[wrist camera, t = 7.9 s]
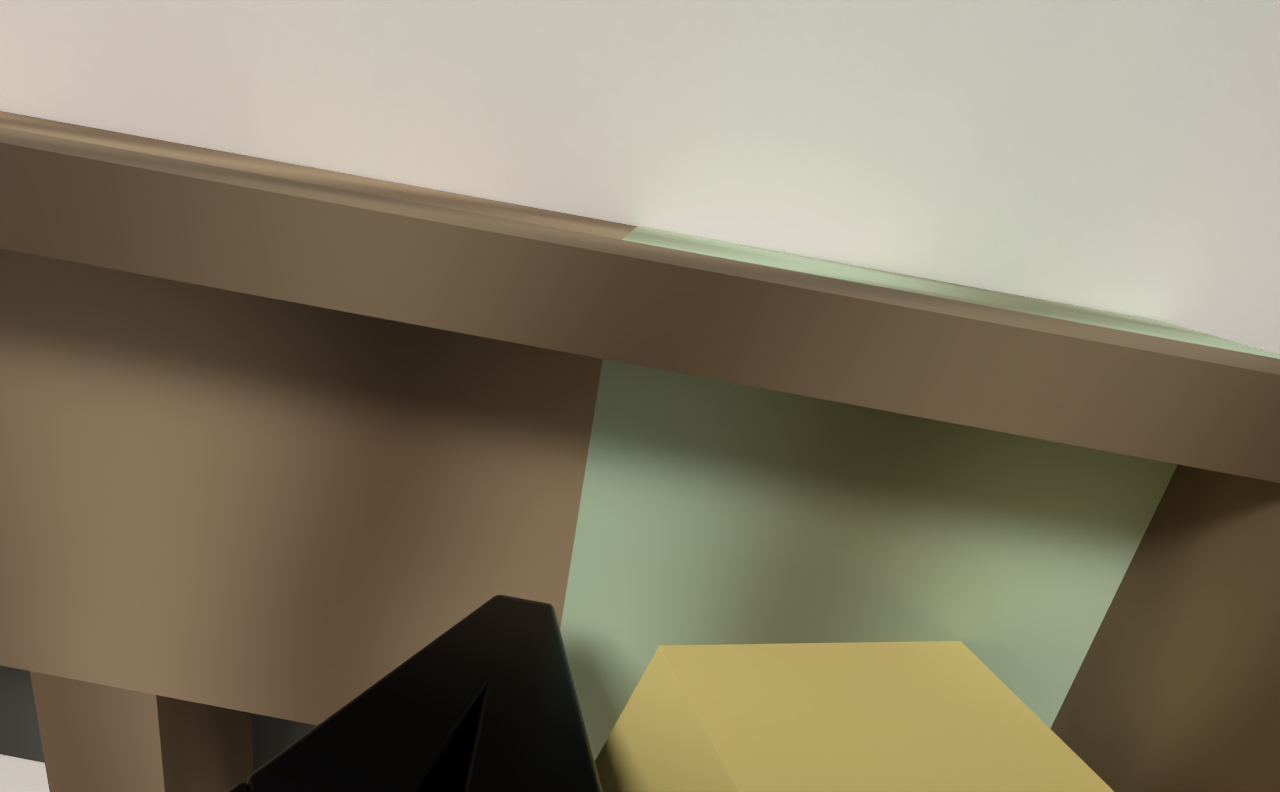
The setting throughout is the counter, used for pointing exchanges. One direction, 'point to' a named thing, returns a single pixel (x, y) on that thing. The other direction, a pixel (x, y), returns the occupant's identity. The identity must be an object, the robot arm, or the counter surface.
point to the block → (832, 724)
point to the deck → (582, 468)
